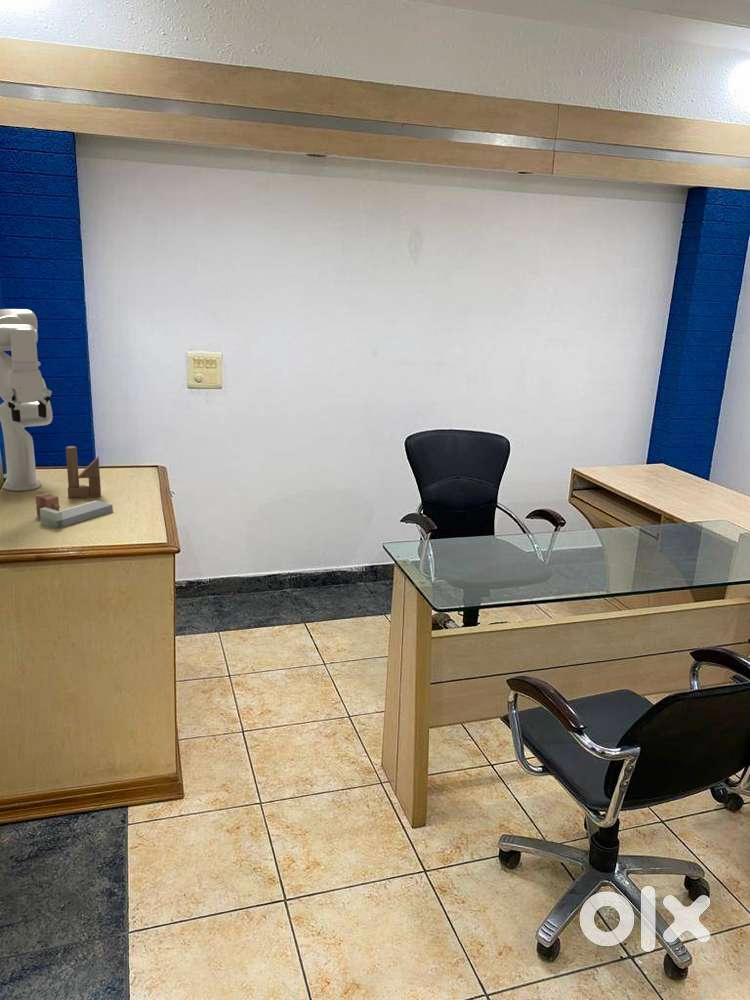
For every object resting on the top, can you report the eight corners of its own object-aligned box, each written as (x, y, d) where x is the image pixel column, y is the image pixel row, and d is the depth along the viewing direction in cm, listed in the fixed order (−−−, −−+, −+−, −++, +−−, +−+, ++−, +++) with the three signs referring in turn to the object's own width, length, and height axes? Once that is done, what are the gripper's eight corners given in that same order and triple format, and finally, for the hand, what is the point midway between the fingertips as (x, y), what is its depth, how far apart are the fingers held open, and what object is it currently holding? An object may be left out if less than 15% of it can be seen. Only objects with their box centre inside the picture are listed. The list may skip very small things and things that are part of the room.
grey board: (40, 523, 252) (39, 508, 250) (96, 507, 270) (95, 493, 268) (57, 528, 248) (56, 513, 246) (112, 511, 266) (112, 497, 265)
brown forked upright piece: (100, 497, 281) (97, 447, 275) (68, 498, 278) (64, 448, 273) (101, 494, 284) (98, 445, 279) (69, 495, 281) (65, 445, 276)
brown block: (37, 516, 258) (35, 495, 256) (47, 513, 262) (46, 493, 260) (54, 521, 254) (52, 500, 252) (64, 518, 258) (63, 497, 255)
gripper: (41, 362, 262) (45, 413, 267) (-7, 367, 248) (-2, 421, 253) (56, 365, 258) (59, 417, 264) (8, 370, 244) (13, 425, 249)
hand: (29, 419), depth 258 cm, fingers open, 9 cm apart
